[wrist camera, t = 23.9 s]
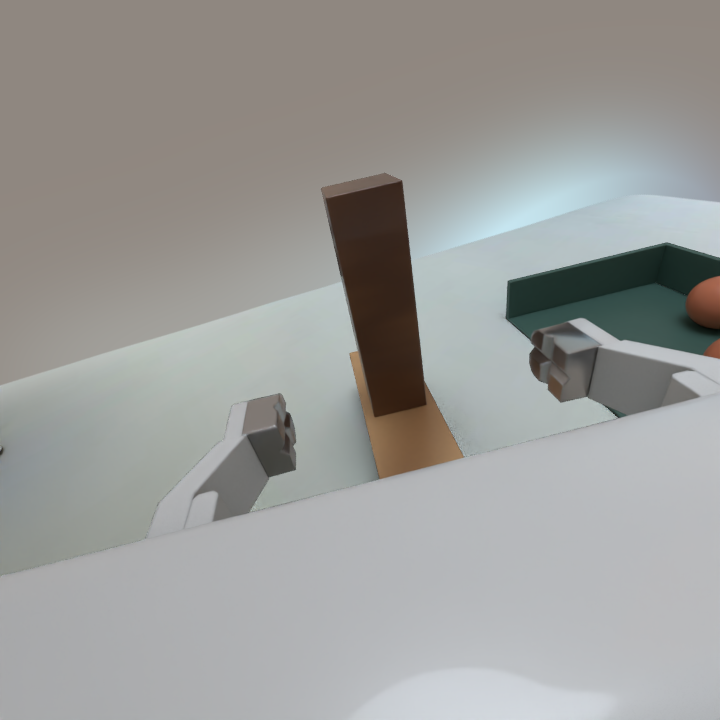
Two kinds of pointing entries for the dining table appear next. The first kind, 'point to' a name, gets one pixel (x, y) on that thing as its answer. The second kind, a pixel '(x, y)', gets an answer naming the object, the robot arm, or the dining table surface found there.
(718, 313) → the ball
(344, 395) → the dining table surface
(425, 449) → the brush
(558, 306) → the dustpan
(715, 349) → the ball
